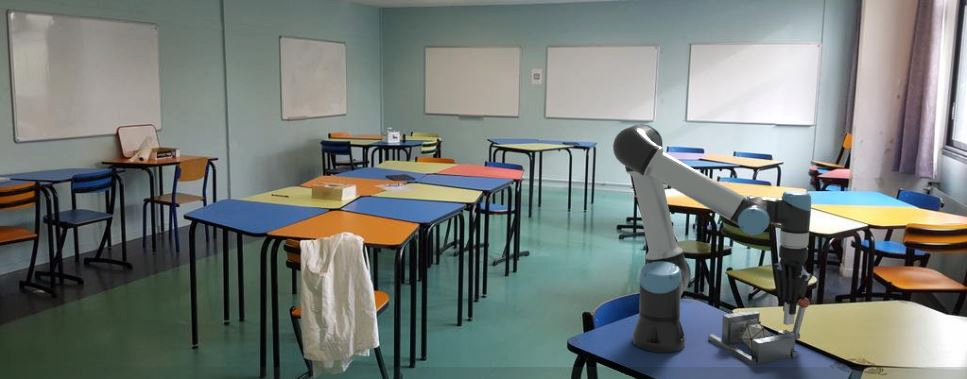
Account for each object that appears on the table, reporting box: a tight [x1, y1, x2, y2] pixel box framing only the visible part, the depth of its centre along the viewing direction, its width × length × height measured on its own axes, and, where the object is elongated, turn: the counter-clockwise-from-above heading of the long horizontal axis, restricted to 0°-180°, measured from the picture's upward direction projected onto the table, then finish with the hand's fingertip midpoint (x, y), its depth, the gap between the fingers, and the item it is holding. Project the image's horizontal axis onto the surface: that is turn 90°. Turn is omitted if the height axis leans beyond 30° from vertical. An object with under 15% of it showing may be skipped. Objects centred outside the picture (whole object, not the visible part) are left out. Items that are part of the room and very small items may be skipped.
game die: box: [738, 320, 775, 354], centre depth 198 cm, size 9×8×10 cm
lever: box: [790, 296, 810, 341], centre depth 197 cm, size 3×3×14 cm
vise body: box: [707, 329, 798, 366], centre depth 200 cm, size 19×18×6 cm
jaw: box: [721, 310, 761, 345], centre depth 204 cm, size 3×11×8 cm, turn 108°
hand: (788, 323), depth 201 cm, fingers closed
